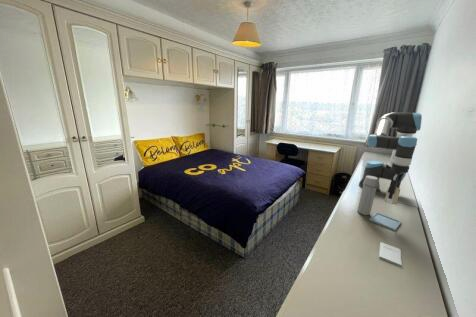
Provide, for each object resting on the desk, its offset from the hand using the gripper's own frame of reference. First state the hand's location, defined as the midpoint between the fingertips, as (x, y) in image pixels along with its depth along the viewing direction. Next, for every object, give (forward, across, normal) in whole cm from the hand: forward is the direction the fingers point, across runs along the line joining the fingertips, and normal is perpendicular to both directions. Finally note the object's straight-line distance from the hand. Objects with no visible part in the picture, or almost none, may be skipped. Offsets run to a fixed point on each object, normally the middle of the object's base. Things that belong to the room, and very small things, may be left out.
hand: (390, 201), depth 113 cm
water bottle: (+14, 0, -12) cm, 18 cm away
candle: (+1, 0, 0) cm, 1 cm away
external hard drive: (+15, +30, +10) cm, 35 cm away
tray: (+14, 0, 0) cm, 14 cm away
